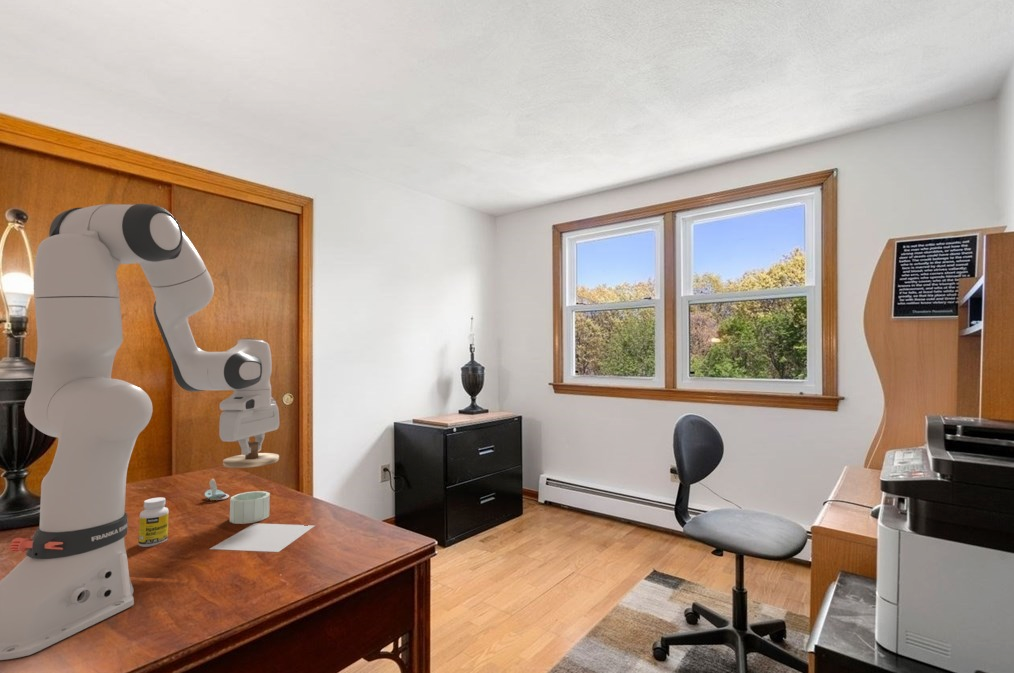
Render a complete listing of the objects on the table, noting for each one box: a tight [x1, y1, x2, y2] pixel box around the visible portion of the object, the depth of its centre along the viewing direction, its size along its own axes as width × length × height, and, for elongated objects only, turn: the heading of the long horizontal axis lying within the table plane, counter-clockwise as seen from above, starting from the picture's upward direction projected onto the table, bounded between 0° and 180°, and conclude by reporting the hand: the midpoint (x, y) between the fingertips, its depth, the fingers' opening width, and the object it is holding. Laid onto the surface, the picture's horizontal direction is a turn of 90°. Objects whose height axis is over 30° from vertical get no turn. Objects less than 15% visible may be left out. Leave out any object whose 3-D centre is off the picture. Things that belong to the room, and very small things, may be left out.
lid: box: [222, 441, 280, 469], centre depth 125 cm, size 13×13×5 cm
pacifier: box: [204, 478, 230, 501], centre depth 142 cm, size 7×6×6 cm
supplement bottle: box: [137, 496, 170, 548], centre depth 109 cm, size 5×5×10 cm
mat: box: [209, 522, 315, 553], centre depth 111 cm, size 16×16×1 cm
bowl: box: [229, 490, 271, 525], centre depth 124 cm, size 9×9×6 cm
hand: (251, 452), depth 125 cm, fingers closed on lid, 3 cm apart
